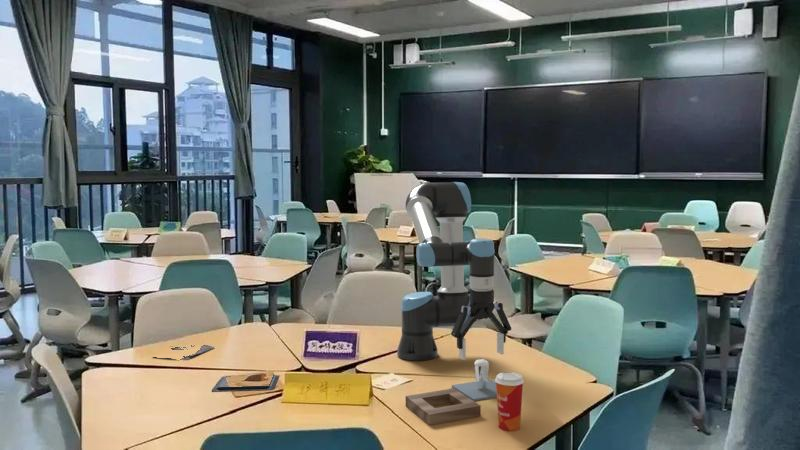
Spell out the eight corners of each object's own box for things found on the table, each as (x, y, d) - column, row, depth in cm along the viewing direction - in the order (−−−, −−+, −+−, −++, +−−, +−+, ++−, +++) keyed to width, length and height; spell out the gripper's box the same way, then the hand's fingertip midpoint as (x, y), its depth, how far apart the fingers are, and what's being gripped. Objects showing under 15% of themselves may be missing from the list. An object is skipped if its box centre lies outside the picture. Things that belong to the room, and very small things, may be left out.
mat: (451, 386, 204) (451, 385, 204) (489, 380, 209) (489, 379, 209) (473, 401, 191) (473, 399, 191) (513, 394, 196) (513, 392, 196)
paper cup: (491, 422, 175) (491, 372, 174) (519, 420, 175) (519, 371, 174) (498, 433, 167) (498, 381, 166) (527, 432, 168) (527, 380, 167)
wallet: (209, 388, 202) (221, 373, 217) (210, 393, 202) (222, 378, 217) (273, 386, 202) (281, 372, 218) (273, 392, 203) (281, 377, 218)
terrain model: (185, 363, 236) (184, 354, 236) (152, 359, 241) (152, 351, 241) (218, 348, 255) (218, 340, 255) (187, 345, 260) (187, 338, 260)
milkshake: (491, 391, 197) (490, 359, 197) (473, 390, 199) (473, 358, 198) (492, 386, 202) (492, 355, 201) (475, 385, 203) (475, 354, 202)
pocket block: (405, 405, 188) (405, 395, 187) (453, 397, 194) (453, 388, 194) (429, 425, 173) (429, 414, 173) (480, 415, 179) (480, 405, 179)
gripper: (451, 294, 189) (451, 364, 191) (522, 287, 199) (522, 354, 201) (440, 290, 196) (440, 357, 198) (509, 283, 206) (509, 347, 208)
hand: (481, 356), depth 200 cm, fingers open, 13 cm apart
